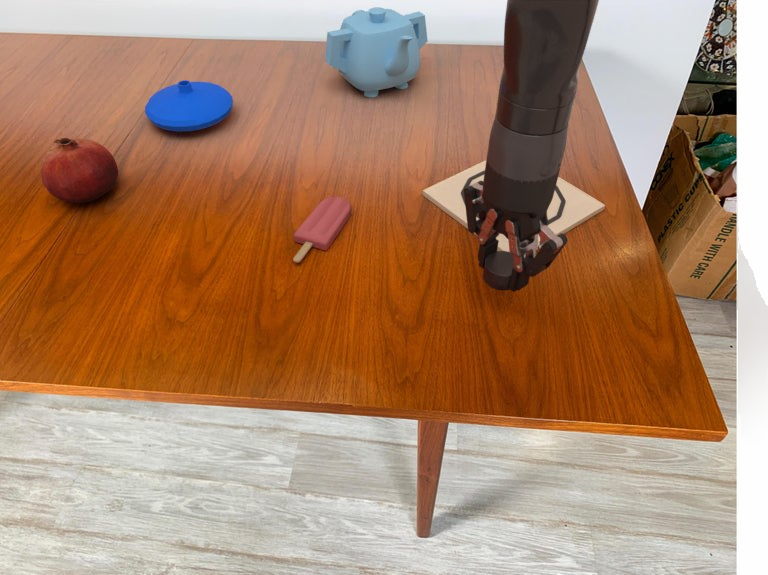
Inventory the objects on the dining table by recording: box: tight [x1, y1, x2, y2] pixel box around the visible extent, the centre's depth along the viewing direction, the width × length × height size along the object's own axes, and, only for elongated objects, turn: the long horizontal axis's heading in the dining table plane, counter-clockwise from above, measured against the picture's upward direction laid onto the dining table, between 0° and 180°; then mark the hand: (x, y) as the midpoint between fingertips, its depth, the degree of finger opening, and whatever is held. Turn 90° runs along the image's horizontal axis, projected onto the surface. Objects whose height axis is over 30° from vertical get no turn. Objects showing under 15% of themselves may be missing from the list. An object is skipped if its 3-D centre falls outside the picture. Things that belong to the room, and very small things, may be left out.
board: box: [422, 159, 606, 258], centre depth 91 cm, size 20×20×1 cm
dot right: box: [482, 251, 514, 292], centre depth 71 cm, size 4×4×2 cm
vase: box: [144, 79, 234, 132], centre depth 106 cm, size 16×16×7 cm
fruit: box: [40, 137, 119, 204], centre depth 89 cm, size 11×10×10 cm
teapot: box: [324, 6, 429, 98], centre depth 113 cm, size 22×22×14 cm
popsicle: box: [292, 196, 352, 264], centre depth 85 cm, size 5×2×15 cm
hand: (501, 275), depth 71 cm, fingers closed on dot right, 4 cm apart
